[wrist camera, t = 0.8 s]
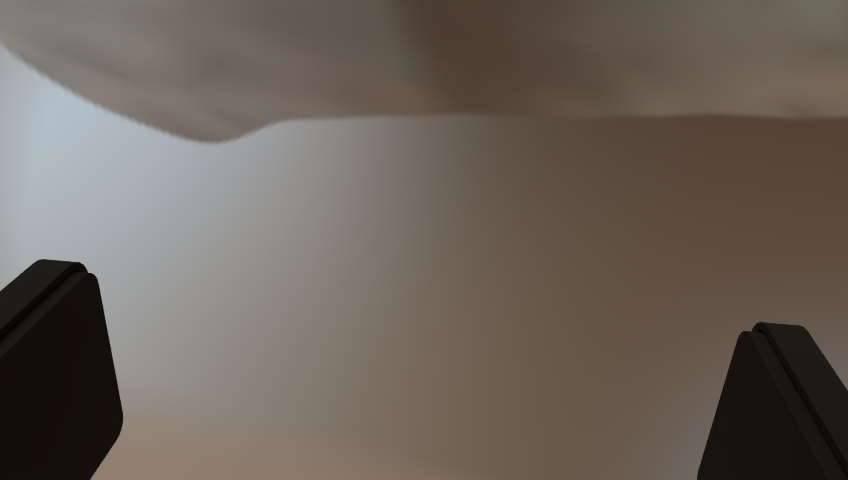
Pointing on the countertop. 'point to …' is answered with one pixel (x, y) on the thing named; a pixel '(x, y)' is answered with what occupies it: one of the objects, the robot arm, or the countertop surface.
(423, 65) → the countertop surface
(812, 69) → the countertop surface
